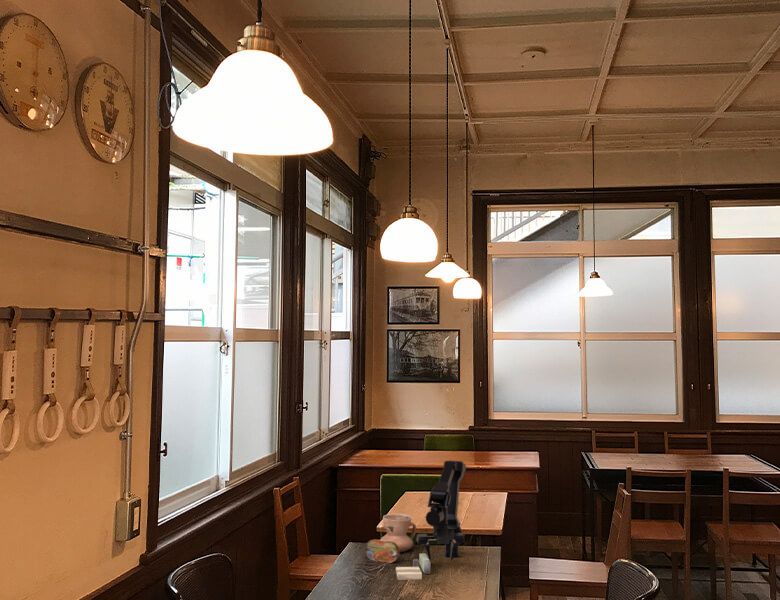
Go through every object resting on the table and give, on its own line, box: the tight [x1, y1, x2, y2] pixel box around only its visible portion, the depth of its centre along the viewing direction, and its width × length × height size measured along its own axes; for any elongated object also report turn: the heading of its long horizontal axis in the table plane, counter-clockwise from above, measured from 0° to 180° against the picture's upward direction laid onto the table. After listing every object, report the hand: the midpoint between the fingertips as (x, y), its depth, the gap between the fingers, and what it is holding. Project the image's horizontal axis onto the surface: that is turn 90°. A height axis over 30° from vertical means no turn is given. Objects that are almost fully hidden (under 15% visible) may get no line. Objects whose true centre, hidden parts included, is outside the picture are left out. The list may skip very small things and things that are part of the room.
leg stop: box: [412, 558, 420, 568], centre depth 279 cm, size 2×2×3 cm
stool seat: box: [395, 566, 423, 581], centre depth 269 cm, size 9×9×2 cm
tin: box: [364, 538, 400, 564], centre depth 288 cm, size 15×3×8 cm, turn 62°
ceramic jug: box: [378, 513, 417, 553], centre depth 305 cm, size 18×14×14 cm
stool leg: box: [419, 552, 432, 575], centre depth 277 cm, size 13×2×4 cm, turn 6°
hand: (440, 560), depth 279 cm, fingers open, 8 cm apart
